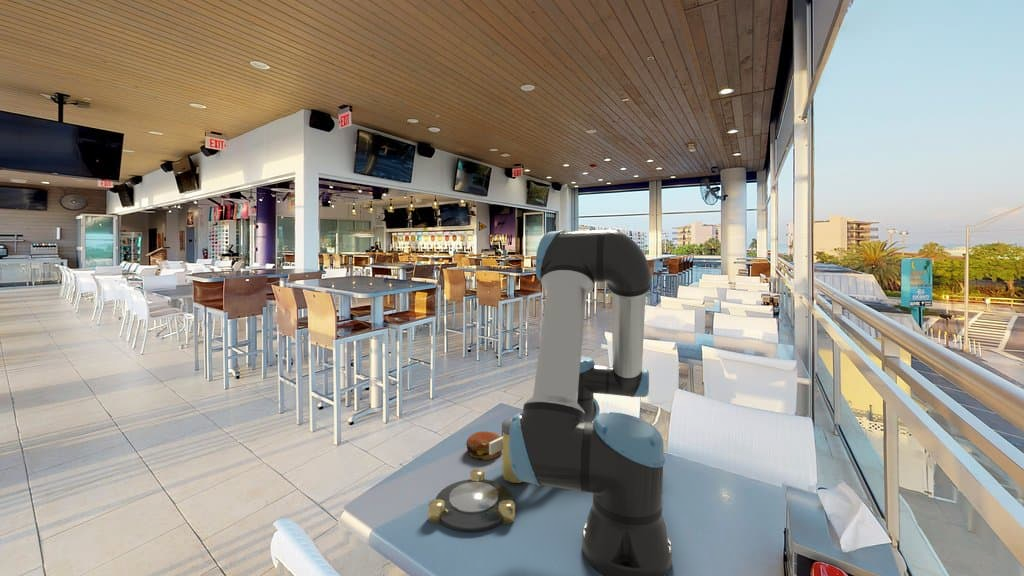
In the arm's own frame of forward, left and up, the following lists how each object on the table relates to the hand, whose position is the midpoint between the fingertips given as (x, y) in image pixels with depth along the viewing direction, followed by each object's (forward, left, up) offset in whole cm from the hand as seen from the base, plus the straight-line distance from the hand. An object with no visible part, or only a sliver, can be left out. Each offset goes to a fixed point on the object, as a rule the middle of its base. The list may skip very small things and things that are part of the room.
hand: (501, 453), depth 92 cm
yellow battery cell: (+2, -5, -7) cm, 9 cm away
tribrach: (-3, +8, -8) cm, 12 cm away
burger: (+17, -4, -8) cm, 20 cm away
